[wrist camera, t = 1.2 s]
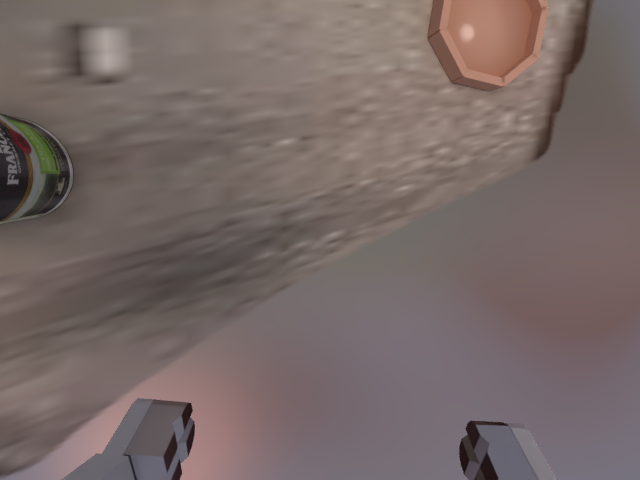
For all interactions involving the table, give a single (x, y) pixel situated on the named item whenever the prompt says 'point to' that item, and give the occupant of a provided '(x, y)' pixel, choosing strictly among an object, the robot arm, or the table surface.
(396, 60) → the table surface
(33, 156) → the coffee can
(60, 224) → the table surface
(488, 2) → the terracotta saucer
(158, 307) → the table surface
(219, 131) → the table surface
